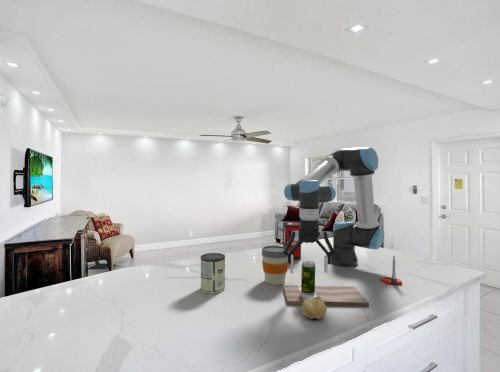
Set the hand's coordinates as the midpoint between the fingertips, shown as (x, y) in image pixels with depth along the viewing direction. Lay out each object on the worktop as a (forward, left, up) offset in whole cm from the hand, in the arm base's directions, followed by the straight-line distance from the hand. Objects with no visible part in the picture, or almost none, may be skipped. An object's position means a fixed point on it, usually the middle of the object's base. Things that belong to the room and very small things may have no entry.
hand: (308, 272), depth 115 cm
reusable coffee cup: (-17, -12, -10) cm, 23 cm away
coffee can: (-6, -39, -10) cm, 41 cm away
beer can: (0, 0, -8) cm, 8 cm away
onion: (+17, -1, -10) cm, 20 cm away
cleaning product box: (-63, +1, -10) cm, 64 cm away
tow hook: (-20, +42, -10) cm, 47 cm away
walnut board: (0, +6, -10) cm, 11 cm away
